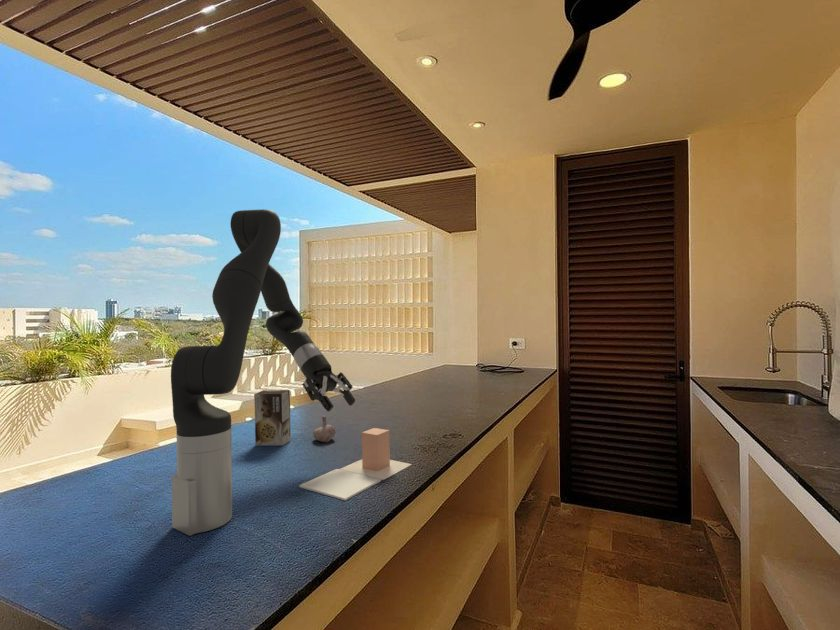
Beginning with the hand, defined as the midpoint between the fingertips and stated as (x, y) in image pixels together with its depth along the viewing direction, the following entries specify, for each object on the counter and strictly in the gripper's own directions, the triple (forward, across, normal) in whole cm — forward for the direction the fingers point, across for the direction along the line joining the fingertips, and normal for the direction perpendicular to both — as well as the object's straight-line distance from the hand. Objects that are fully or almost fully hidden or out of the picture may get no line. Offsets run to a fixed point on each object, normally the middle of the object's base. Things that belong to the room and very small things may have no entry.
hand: (342, 406), depth 112 cm
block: (+18, 0, +2) cm, 18 cm away
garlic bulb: (-3, +11, +24) cm, 26 cm away
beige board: (+18, -13, +2) cm, 23 cm away
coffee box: (-11, +1, +32) cm, 34 cm away
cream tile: (+18, 0, +2) cm, 19 cm away
